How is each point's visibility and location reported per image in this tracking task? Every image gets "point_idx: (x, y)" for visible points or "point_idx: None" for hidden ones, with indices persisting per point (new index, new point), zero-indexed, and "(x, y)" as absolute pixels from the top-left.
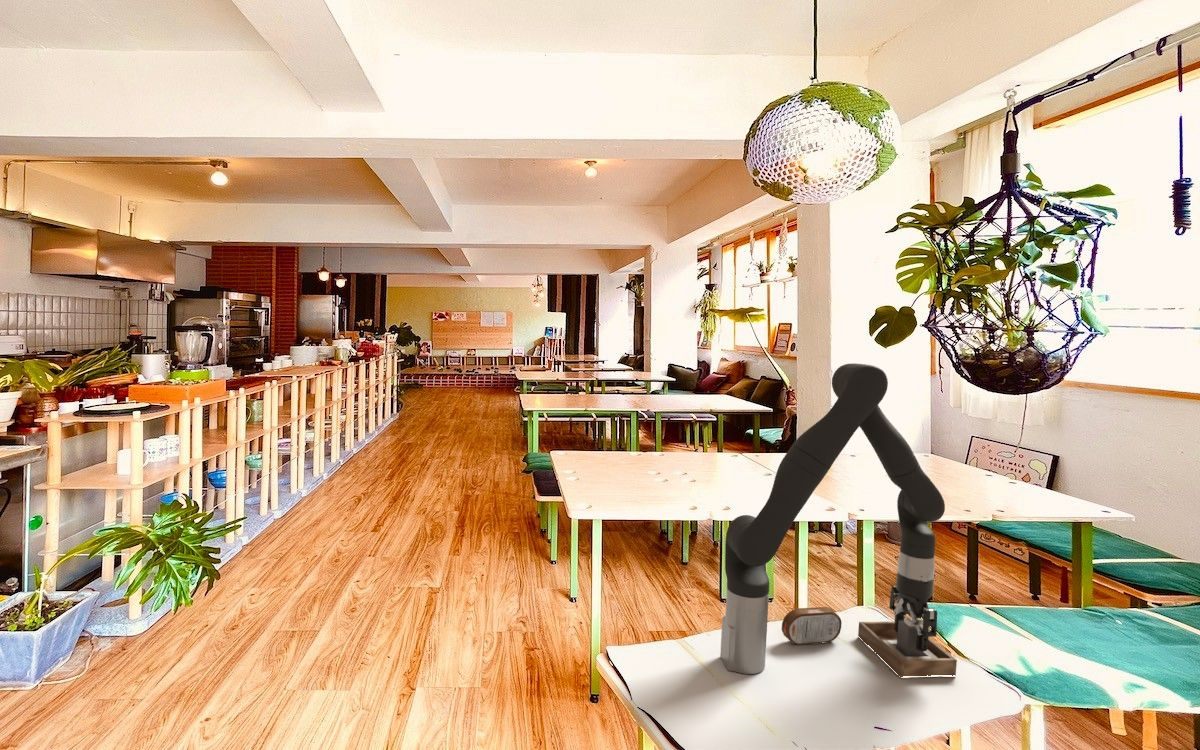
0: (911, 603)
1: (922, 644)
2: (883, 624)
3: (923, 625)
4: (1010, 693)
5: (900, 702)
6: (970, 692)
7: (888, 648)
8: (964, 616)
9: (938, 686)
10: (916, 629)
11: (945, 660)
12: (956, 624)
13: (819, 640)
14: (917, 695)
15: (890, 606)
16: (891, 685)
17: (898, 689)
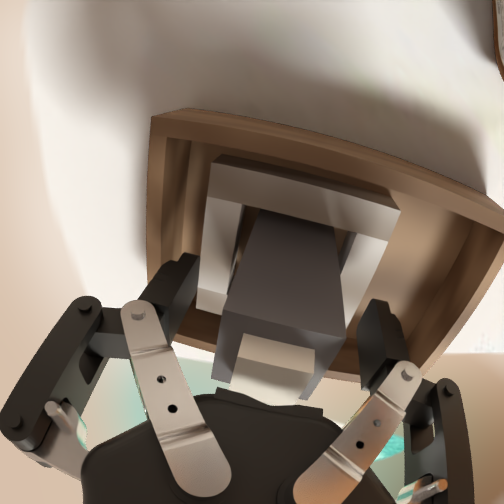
0: (190, 497)
1: (153, 278)
2: (458, 310)
3: (71, 346)
4: None
5: (78, 29)
6: (108, 269)
7: (276, 140)
8: (378, 456)
9: (131, 209)
10: (218, 343)
11: None
12: None
13: (499, 9)
14: (95, 102)
15: (450, 391)
16: (154, 46)
17: (130, 57)
